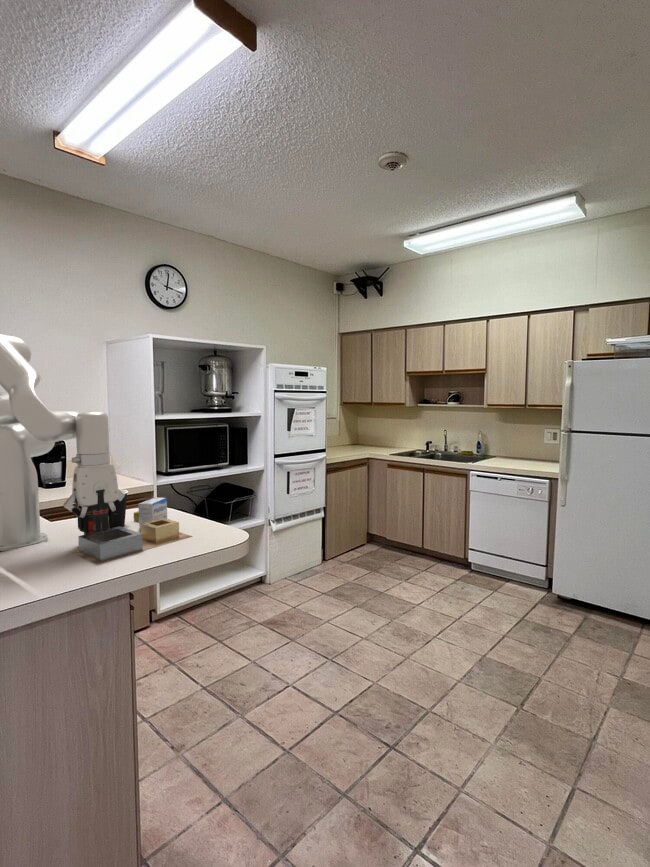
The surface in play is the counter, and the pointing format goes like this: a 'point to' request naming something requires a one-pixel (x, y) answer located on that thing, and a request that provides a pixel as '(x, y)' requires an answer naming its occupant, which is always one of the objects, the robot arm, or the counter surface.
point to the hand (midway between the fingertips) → (96, 527)
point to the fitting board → (146, 546)
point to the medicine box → (152, 510)
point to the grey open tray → (110, 543)
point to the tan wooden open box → (160, 530)
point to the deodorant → (98, 515)
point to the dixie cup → (120, 512)
